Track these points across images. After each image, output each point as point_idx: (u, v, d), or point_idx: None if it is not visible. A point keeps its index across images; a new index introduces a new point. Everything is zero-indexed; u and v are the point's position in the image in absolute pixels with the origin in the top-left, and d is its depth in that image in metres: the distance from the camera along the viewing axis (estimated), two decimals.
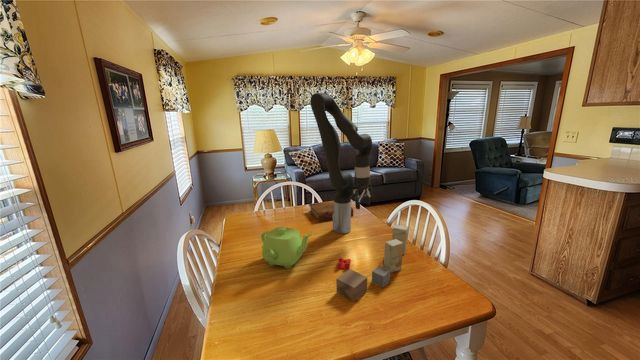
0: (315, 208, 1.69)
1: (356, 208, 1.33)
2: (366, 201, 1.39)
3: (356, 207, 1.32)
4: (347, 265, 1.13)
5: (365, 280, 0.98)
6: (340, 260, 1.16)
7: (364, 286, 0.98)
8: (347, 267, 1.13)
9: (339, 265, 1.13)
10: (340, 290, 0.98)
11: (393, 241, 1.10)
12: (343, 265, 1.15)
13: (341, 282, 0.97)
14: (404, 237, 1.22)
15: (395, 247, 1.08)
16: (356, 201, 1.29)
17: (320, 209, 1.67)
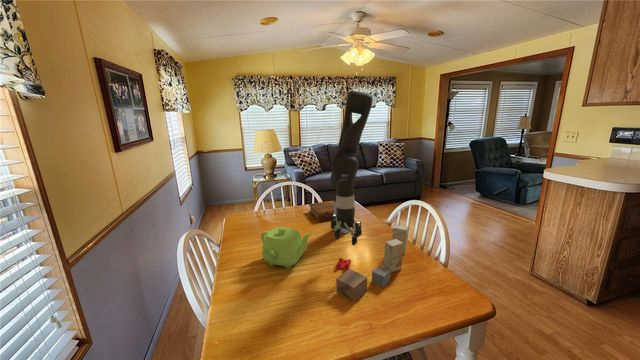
0: (315, 208, 1.69)
1: (353, 244, 1.10)
2: (337, 235, 1.15)
3: (355, 243, 1.10)
4: (346, 265, 1.12)
5: (365, 280, 0.98)
6: (340, 260, 1.16)
7: (364, 286, 0.98)
8: (346, 267, 1.13)
9: (338, 265, 1.13)
10: (340, 290, 0.98)
11: (393, 241, 1.10)
12: (343, 265, 1.15)
13: (341, 282, 0.97)
14: (404, 237, 1.22)
15: (395, 247, 1.08)
16: (361, 234, 1.09)
17: (320, 209, 1.67)
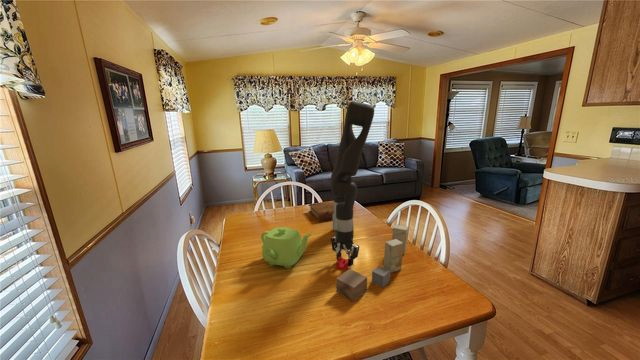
0: (315, 208, 1.69)
1: (350, 266, 1.14)
2: None
3: (352, 264, 1.13)
4: (345, 265, 1.12)
5: (365, 280, 0.98)
6: (339, 259, 1.16)
7: (364, 286, 0.98)
8: (345, 267, 1.13)
9: (337, 264, 1.14)
10: (340, 290, 0.98)
11: (393, 241, 1.10)
12: (342, 264, 1.15)
13: (341, 282, 0.97)
14: (404, 237, 1.22)
15: (395, 247, 1.08)
16: (357, 256, 1.12)
17: (320, 209, 1.67)
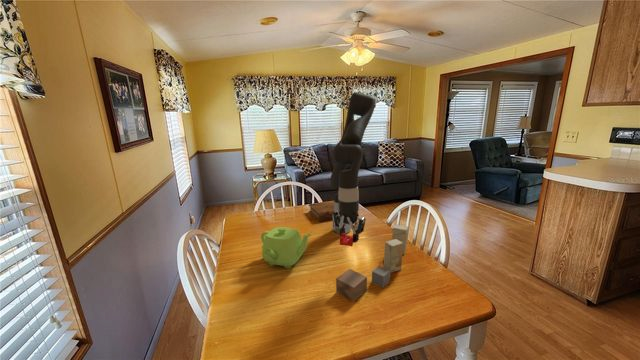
0: (315, 208, 1.69)
1: (355, 242, 1.02)
2: None
3: (357, 240, 1.01)
4: (350, 240, 1.00)
5: (365, 280, 0.98)
6: (343, 235, 1.04)
7: (364, 286, 0.98)
8: (350, 243, 1.01)
9: (341, 240, 1.02)
10: (340, 290, 0.98)
11: (393, 241, 1.10)
12: (346, 241, 1.03)
13: (341, 282, 0.97)
14: (404, 237, 1.22)
15: (395, 247, 1.08)
16: (363, 230, 1.00)
17: (320, 209, 1.67)
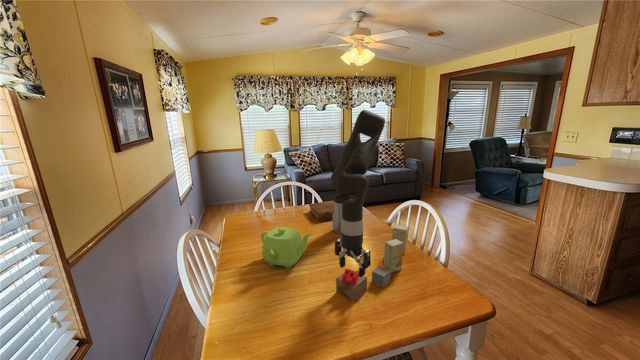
0: (315, 208, 1.69)
1: (361, 276, 0.94)
2: (342, 263, 0.99)
3: (363, 274, 0.93)
4: (353, 279, 0.94)
5: (365, 280, 0.98)
6: (346, 272, 0.98)
7: (363, 286, 0.98)
8: (353, 281, 0.94)
9: (344, 278, 0.95)
10: (340, 290, 0.98)
11: (393, 241, 1.10)
12: (349, 278, 0.96)
13: (341, 282, 0.97)
14: (404, 237, 1.22)
15: (395, 247, 1.08)
16: None
17: (320, 209, 1.67)
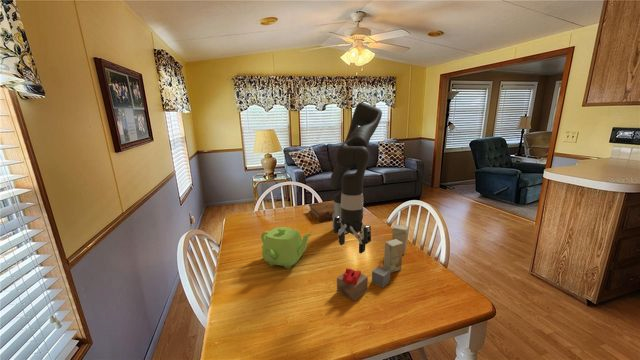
0: (315, 208, 1.69)
1: (361, 252, 0.91)
2: (342, 241, 0.97)
3: (363, 250, 0.91)
4: (354, 278, 0.94)
5: (365, 279, 0.98)
6: (347, 271, 0.98)
7: (364, 286, 0.98)
8: (354, 281, 0.94)
9: (345, 277, 0.95)
10: (341, 289, 0.98)
11: (393, 241, 1.10)
12: (350, 277, 0.96)
13: (341, 281, 0.97)
14: (404, 237, 1.22)
15: (395, 247, 1.08)
16: (370, 240, 0.90)
17: (320, 209, 1.67)
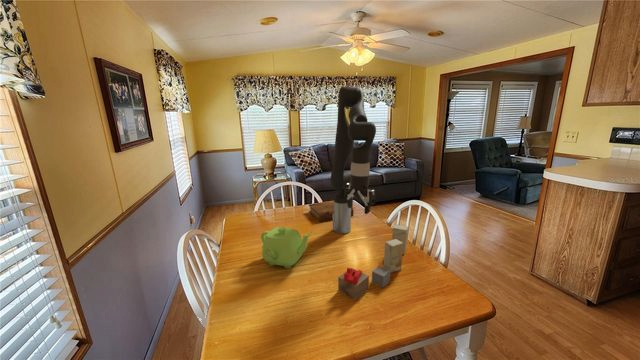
0: (315, 208, 1.69)
1: (366, 213, 1.08)
2: (350, 204, 1.14)
3: (368, 211, 1.08)
4: (355, 278, 0.94)
5: (367, 279, 0.98)
6: (348, 270, 0.98)
7: (365, 285, 0.98)
8: (355, 280, 0.95)
9: (345, 276, 0.96)
10: (342, 288, 0.99)
11: (393, 241, 1.10)
12: (351, 277, 0.97)
13: (343, 281, 0.97)
14: (404, 237, 1.22)
15: (395, 247, 1.08)
16: (374, 203, 1.07)
17: (320, 209, 1.67)
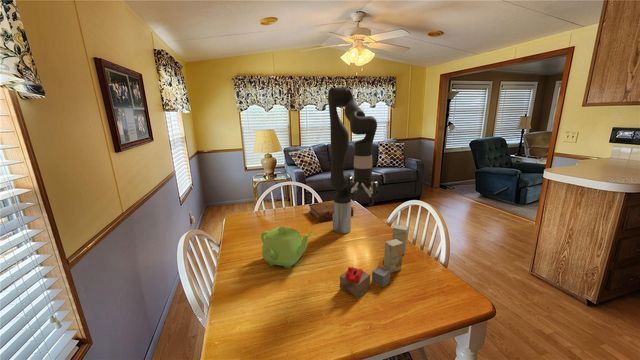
0: (315, 208, 1.69)
1: (370, 205, 1.12)
2: (354, 197, 1.17)
3: (372, 203, 1.12)
4: (357, 277, 0.95)
5: (368, 277, 0.99)
6: (349, 270, 0.99)
7: (367, 284, 0.99)
8: (356, 279, 0.95)
9: (347, 276, 0.96)
10: (344, 287, 0.99)
11: (393, 241, 1.10)
12: (352, 276, 0.97)
13: (344, 279, 0.98)
14: (404, 237, 1.22)
15: (395, 247, 1.08)
16: (378, 194, 1.10)
17: (320, 209, 1.67)
